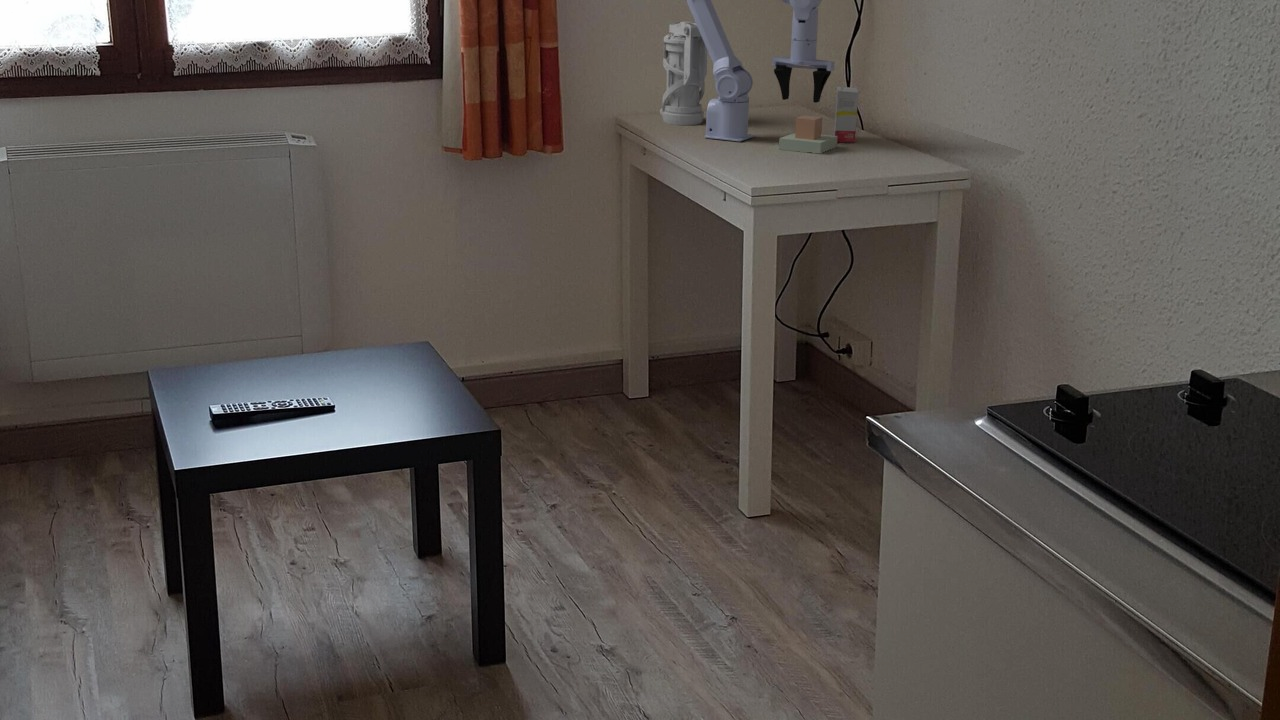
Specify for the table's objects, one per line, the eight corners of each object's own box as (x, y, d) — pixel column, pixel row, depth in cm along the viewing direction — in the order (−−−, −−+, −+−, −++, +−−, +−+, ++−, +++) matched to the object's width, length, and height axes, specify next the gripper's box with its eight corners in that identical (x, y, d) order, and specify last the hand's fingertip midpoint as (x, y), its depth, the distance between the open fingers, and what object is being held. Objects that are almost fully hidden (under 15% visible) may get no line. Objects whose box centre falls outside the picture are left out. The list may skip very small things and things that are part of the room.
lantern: (655, 119, 342) (656, 18, 334) (692, 117, 346) (694, 17, 338) (677, 128, 331) (680, 23, 323) (715, 125, 335) (718, 21, 327)
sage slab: (778, 149, 306) (779, 138, 305) (796, 142, 315) (796, 131, 314) (820, 153, 302) (820, 142, 301) (836, 147, 310) (837, 136, 309)
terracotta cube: (795, 137, 306) (796, 118, 305) (802, 135, 310) (803, 115, 308) (813, 139, 304) (814, 119, 303) (821, 136, 308) (822, 117, 306)
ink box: (855, 143, 315) (859, 92, 311) (834, 142, 315) (837, 91, 311) (854, 137, 323) (857, 86, 319) (833, 136, 323) (836, 86, 320)
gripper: (767, 39, 305) (764, 100, 310) (827, 43, 299) (823, 105, 303) (779, 36, 311) (777, 96, 316) (839, 40, 305) (835, 101, 309)
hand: (800, 100), depth 310 cm, fingers open, 7 cm apart
